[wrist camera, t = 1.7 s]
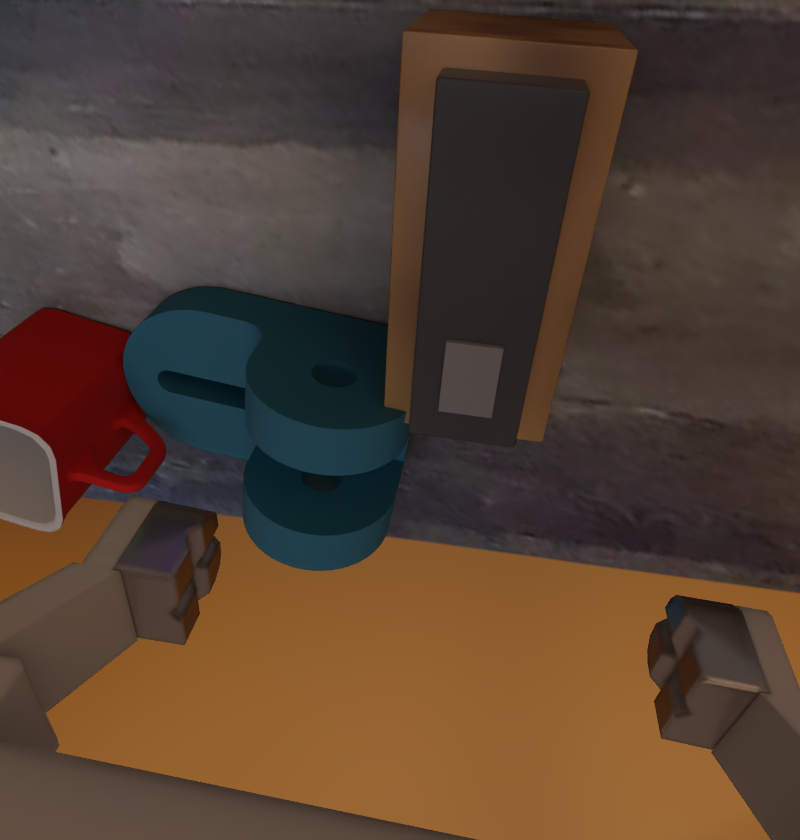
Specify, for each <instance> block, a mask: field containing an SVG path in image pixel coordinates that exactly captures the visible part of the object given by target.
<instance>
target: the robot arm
mask: <svg viewBox="0 0 800 840" xmlns="http://www.w3.org/2000/svg"><path fill="white" fill-rule="evenodd" d="M217 527H218V521H217V514H216V513H215V512H212V511H208V510H203V509H198V508H193V507H189V506H184V505H179V504H174V503H169V502H165V501H159V500H154V499H149V498H144V497H139V496H132V497H131V498H130V499H128V500H127V501H125V503H124V504H123V506H122V507H121V508H120V510H119V511H118V513H117V514H116V515H115V517H114V518H113V520H112V521H111V522H110V524H109V525H108V527H107V528H106V529H105V531H104V532H103V534H102V535H101V537H100V538H99V539H98V541H97V542H96V544H95V545H94V547H93V548H92V549H91V551H90V552H89V553H88V555H87V556H86V558H85V559H84V561H83V562H82V563H81V564H80V563H74V562H73V563H71V564H69V565H68V566H66V567H64V568H62V569H60V570H58V571H56V572H54V573H53V574H51V575H49V576H47V577H45V578H43V579H42V580H40V581H38V582H36V583H34V584H32V585H30V586H29V587H27V588H25V589H23V590H22V591H19V592H18V593H16V594H14V595H12V596H10V597H8V598H6V599H4V600H3V601H1V602H0V840H476V839H472V838H467V837H462V836H457V835H452V834H448V833H443V832H438V831H433V830H428V829H424V828H419V827H414V826H409V825H404V824H399V823H395V822H390V821H385V820H380V819H375V818H371V817H366V816H361V815H356V814H351V813H347V812H342V811H337V810H332V809H327V808H323V807H318V806H313V805H308V804H303V803H299V802H294V801H289V800H284V799H279V798H274V797H270V796H265V795H260V794H255V793H251V792H246V791H240V790H236V789H231V788H226V787H222V786H217V785H211V784H207V783H202V782H197V781H193V780H187V779H183V778H178V777H173V776H168V775H164V774H159V773H154V772H149V771H144V770H140V769H135V768H130V767H125V766H121V765H116V764H111V763H106V762H101V761H96V760H92V759H87V758H82V757H77V756H72V755H68V754H63V753H58V752H56V750H57V748H58V746H59V743H58V739H57V737H56V734H55V732H54V730H53V728H52V726H51V724H50V722H49V719H48V718H47V715H46V712H48V711H49V710H50V709H51V708H53V707H54V706H55V705H56V704H58V703H59V702H60V701H61V700H63V699H64V698H65V697H66V696H68V695H69V694H70V693H72V692H73V691H74V690H75V689H77V688H78V687H79V686H80V685H82V684H83V683H84V682H85V681H87V680H88V679H89V678H90V677H92V676H93V675H94V674H96V673H97V672H98V671H99V670H101V669H102V668H103V667H104V666H106V665H107V664H108V663H110V662H111V661H112V660H113V659H115V658H116V657H117V656H118V655H120V654H121V653H122V652H123V651H125V650H126V649H127V648H128V647H130V646H131V645H132V644H134V643H135V642H136V641H137V637H138V638H144V639H150V640H156V641H162V642H168V643H174V644H181V645H185V643H186V641H187V639H188V637H189V634H190V633H191V631H192V629H193V627H194V624H195V622H196V620H197V618H198V616H199V614H200V612H199V605H198V600H199V599H201V598H202V597H204V596H205V595H207V594H209V593H210V590H211V588H212V586H213V584H214V582H215V580H216V576H217V573H218V569H219V565H220V558H221V547H220V542H219V541H218V540H217V539H216V538H215V537H214V533H215V531H216V529H217ZM665 609H666V614H667V619H664V620H662V621H660V622H658V623H656V625H655V627H654V629H653V631H652V633H651V635H650V639H649V645H648V650H647V651H648V652H647V653H648V668H649V674H650V677H651V678H652V680H653V681H654V682H655V683H656V685H657V686H658V687H659V688H660V690H661V691H660V692H659V694H658V695H657V697H656V699H655V700H654V703H655V708H656V713H657V719H658V724H659V730H660V735H661V738H662V739H666V740H671V741H675V742H680V743H684V744H689V745H693V746H698V747H702V748H707V749H711V750H713V751H712V754H713V755H714V756H715V758H716V760H717V761H718V762H719V764H720V765H721V767H722V768H723V770H724V771H725V773H726V774H727V776H728V777H729V779H730V780H731V782H732V783H733V785H734V786H735V788H736V789H737V791H738V792H739V793H740V795H741V796H742V798H743V799H744V801H745V802H746V804H747V805H748V807H749V808H750V810H751V811H752V813H753V814H754V815H755V817H756V818H757V820H758V821H759V822H760V824H761V826H762V827H763V829H764V830H765V832H766V833H767V835H768V836H769V838H770V839H771V840H800V688H799V685H798V683H797V680H796V678H795V675H794V672H793V670H792V667H791V665H790V662H789V659H788V657H787V654H786V652H785V649H784V646H783V644H782V641H781V638H780V636H779V633H778V631H777V628H776V625H775V623H774V620H773V618H772V616H771V615H770V614H769V613H768V612H767V611H763V610H758V609H752V608H747V607H741V606H734V605H732V604H726V603H720V602H715V601H709V600H702V599H696V598H691V597H685V596H679V595H676V596H674V597H672V598H671V599H670V601H669V602H668V604H667V606H666V607H665Z"/></svg>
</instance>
